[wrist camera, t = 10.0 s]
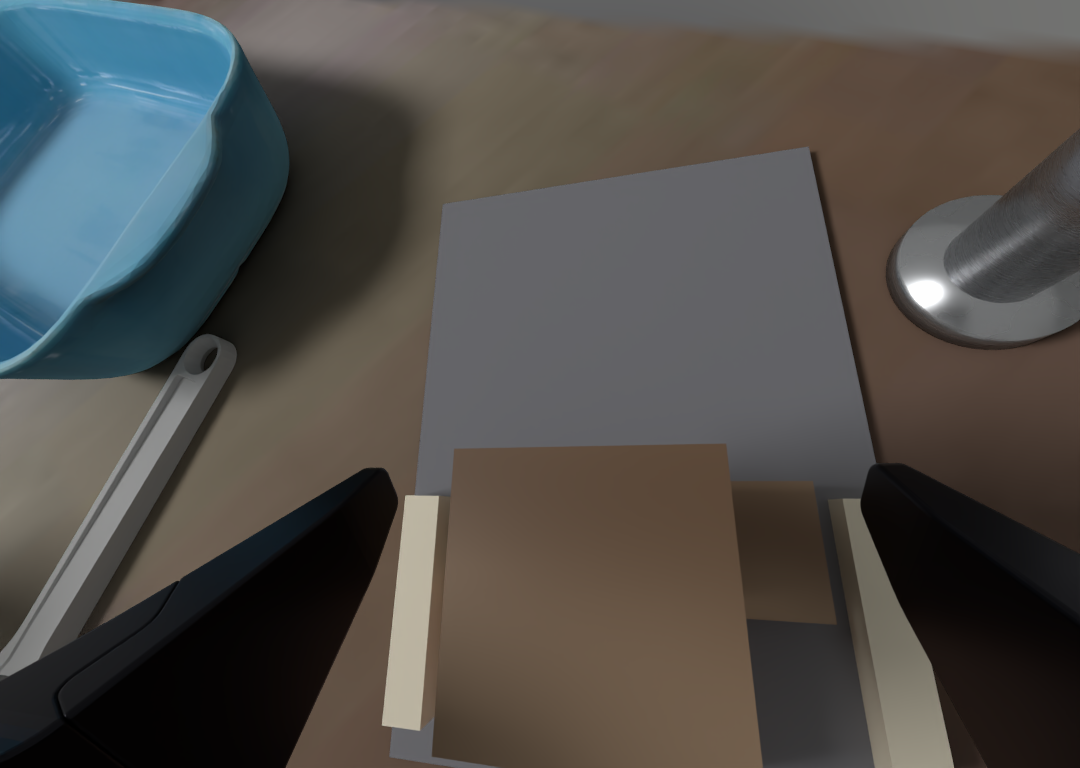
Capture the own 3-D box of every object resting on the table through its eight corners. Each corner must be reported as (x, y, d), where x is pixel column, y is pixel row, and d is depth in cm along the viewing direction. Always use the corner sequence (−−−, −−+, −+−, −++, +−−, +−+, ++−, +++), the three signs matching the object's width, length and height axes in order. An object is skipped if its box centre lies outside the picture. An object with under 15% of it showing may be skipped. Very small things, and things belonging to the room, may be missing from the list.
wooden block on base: (805, 606, 14) (1382, 936, 3) (473, 587, 17) (149, 731, 6) (787, 485, 16) (1164, 415, 4) (479, 485, 18) (218, 441, 7)
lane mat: (948, 837, 12) (990, 881, 11) (395, 751, 16) (370, 775, 15) (805, 153, 20) (819, 124, 18) (446, 208, 24) (432, 188, 22)
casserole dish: (-82, 277, 35) (-254, 221, 28) (84, 69, 38) (-33, -24, 32) (193, 470, 23) (6, 452, 16) (395, 141, 26) (312, 15, 20)
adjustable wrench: (223, 337, 25) (194, 324, 24) (295, 377, 23) (269, 366, 22) (-65, 767, 21) (-125, 789, 19) (-7, 863, 19) (-68, 896, 17)
